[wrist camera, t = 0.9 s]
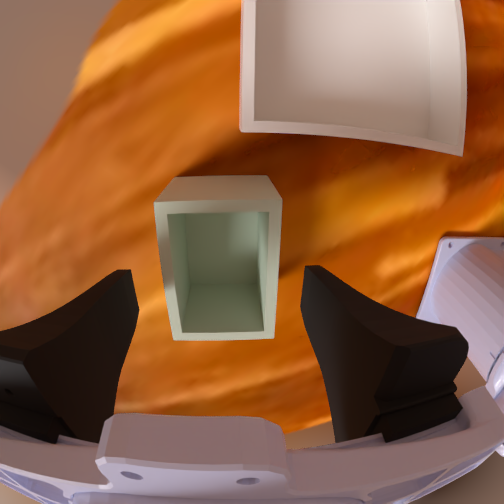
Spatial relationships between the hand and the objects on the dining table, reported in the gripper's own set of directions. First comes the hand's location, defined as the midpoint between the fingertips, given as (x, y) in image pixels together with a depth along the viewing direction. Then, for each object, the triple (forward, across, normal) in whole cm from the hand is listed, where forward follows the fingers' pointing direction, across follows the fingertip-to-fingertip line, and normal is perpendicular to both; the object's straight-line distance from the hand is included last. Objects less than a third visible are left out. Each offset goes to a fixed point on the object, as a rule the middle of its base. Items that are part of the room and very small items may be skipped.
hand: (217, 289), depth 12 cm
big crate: (+6, -7, -12) cm, 15 cm away
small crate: (+6, 0, 0) cm, 6 cm away
